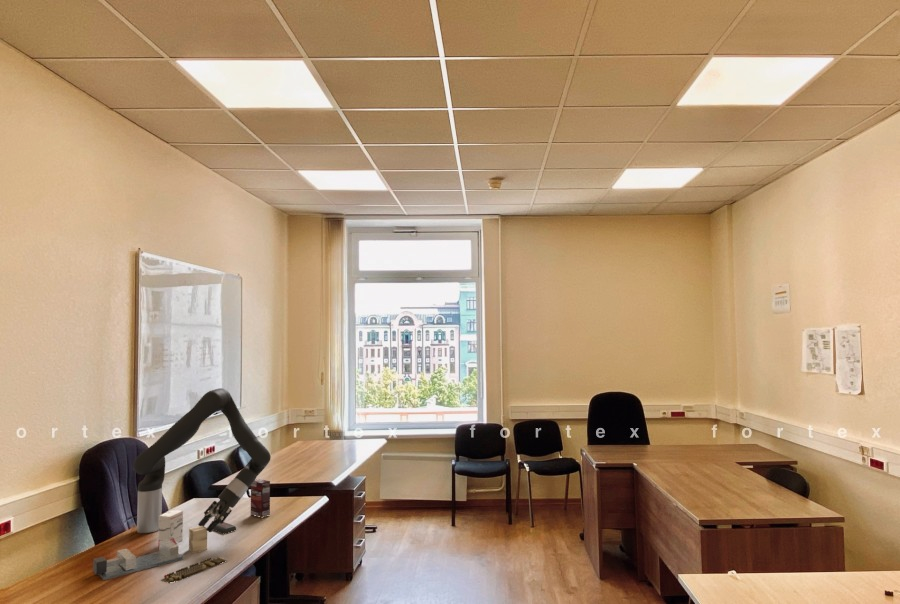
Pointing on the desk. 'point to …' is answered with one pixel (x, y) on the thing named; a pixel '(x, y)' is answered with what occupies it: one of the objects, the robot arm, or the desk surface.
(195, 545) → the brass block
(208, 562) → the keyboard
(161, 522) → the ink box
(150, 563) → the vise base
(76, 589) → the desk surface
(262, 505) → the supplement box
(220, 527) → the usb drive
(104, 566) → the free jaw
